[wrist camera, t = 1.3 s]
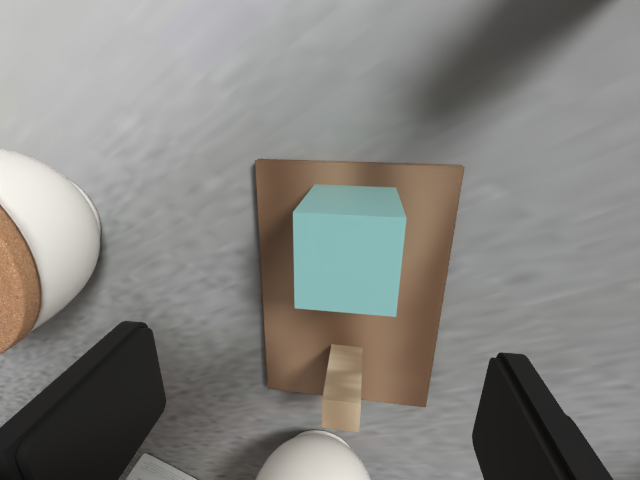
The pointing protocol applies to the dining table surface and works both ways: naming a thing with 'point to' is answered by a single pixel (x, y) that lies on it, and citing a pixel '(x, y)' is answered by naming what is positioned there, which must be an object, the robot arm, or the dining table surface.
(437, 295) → the walnut board
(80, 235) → the lidded bowl
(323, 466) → the lidded jar
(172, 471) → the supplement box
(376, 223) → the teal block
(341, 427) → the beech post
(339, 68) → the dining table surface
